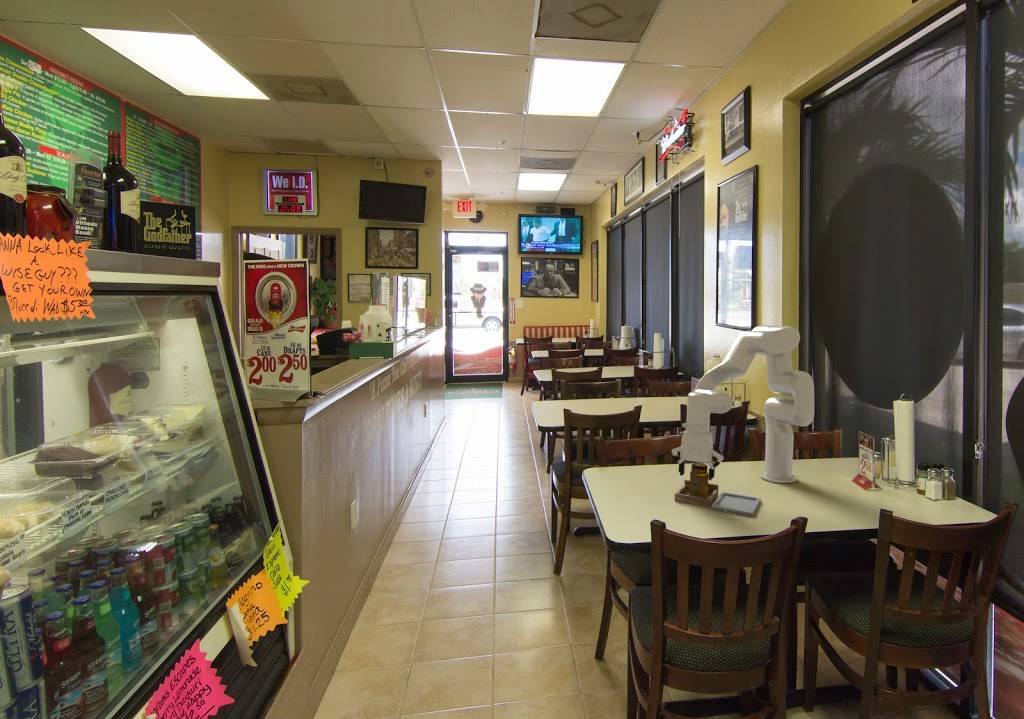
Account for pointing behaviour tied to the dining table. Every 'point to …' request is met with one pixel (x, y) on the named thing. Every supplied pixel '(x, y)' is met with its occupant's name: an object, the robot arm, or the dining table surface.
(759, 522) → the dining table surface
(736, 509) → the tray
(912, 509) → the dining table surface
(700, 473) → the condiment
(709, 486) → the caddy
